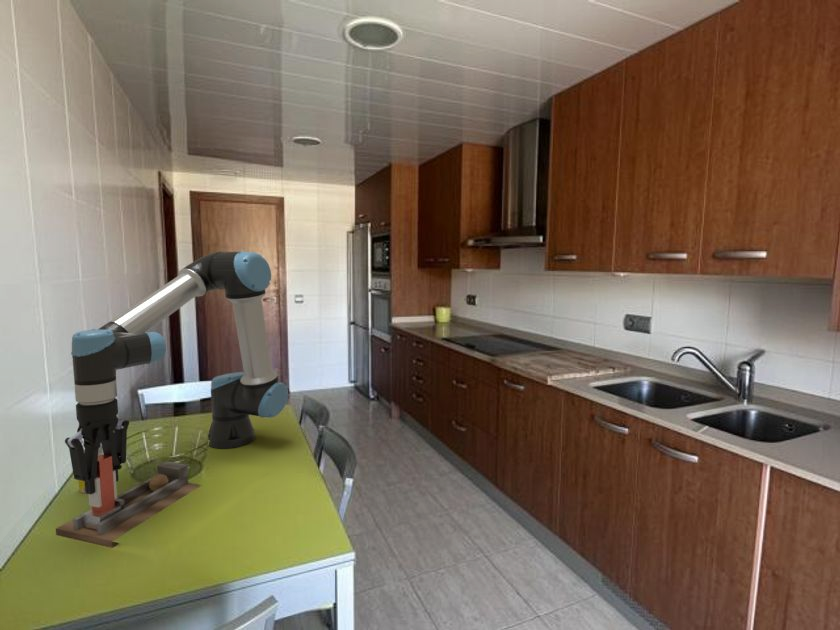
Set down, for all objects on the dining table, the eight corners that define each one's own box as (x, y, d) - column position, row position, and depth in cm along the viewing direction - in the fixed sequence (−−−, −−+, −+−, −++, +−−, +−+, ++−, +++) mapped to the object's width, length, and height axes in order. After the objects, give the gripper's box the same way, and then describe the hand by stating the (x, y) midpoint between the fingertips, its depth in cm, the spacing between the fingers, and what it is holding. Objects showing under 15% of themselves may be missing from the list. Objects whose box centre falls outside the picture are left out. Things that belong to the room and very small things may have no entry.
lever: (108, 512, 106) (104, 451, 104) (125, 516, 105) (121, 453, 103) (83, 526, 100) (78, 461, 99) (100, 530, 99) (96, 464, 97)
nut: (159, 486, 120) (158, 470, 119) (172, 488, 118) (172, 472, 118) (145, 494, 115) (144, 477, 115) (159, 496, 114) (158, 480, 114)
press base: (154, 482, 125) (152, 459, 124) (202, 490, 121) (201, 467, 120) (56, 535, 100) (54, 507, 99) (112, 547, 96) (110, 518, 95)
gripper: (117, 389, 108) (122, 483, 111) (45, 409, 93) (53, 517, 95) (141, 392, 106) (146, 487, 109) (73, 412, 91) (80, 523, 93)
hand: (103, 501), depth 102 cm, fingers closed on lever, 3 cm apart
